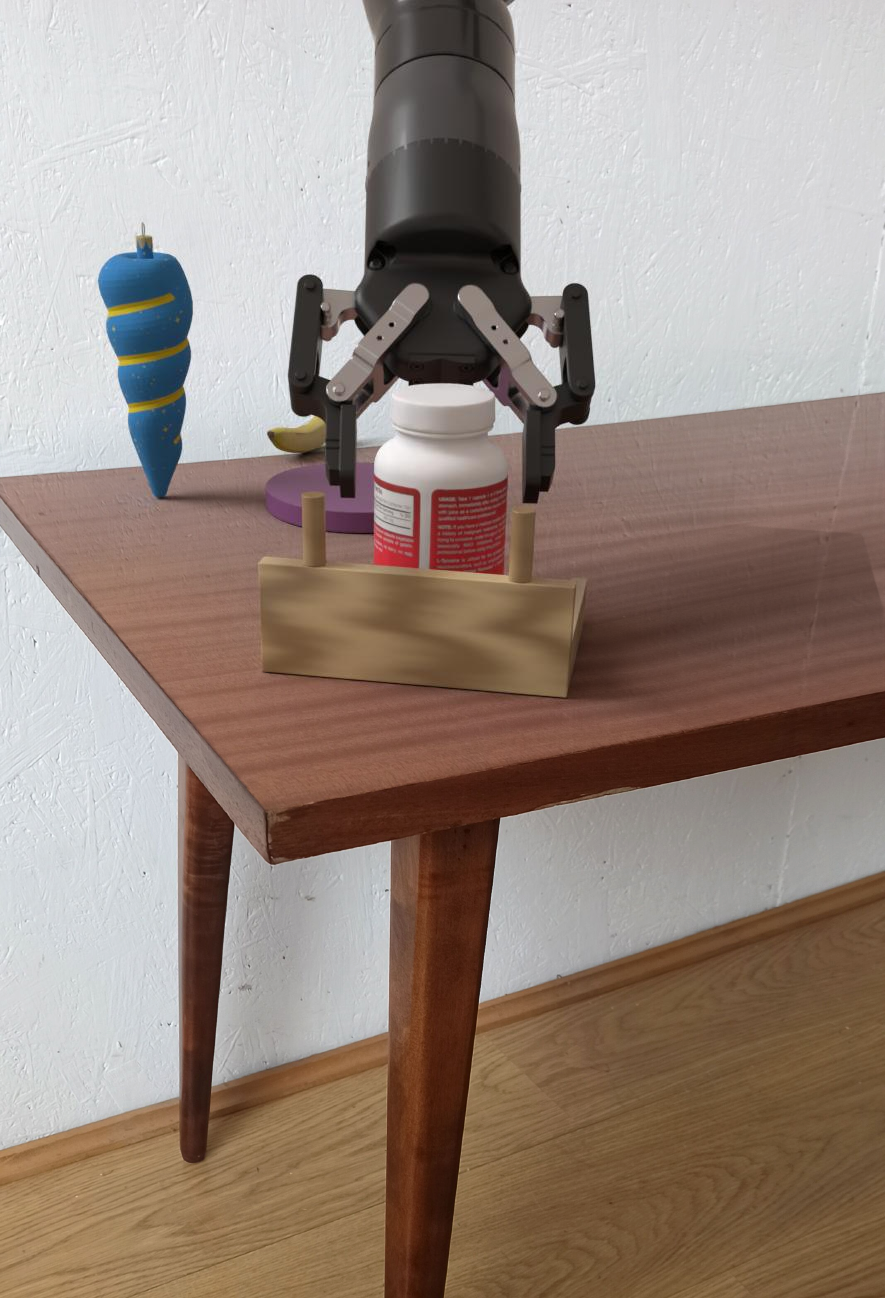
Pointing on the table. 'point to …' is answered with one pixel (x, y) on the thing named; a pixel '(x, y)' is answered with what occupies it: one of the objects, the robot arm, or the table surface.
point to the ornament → (150, 351)
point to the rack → (420, 618)
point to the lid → (338, 511)
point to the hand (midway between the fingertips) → (440, 492)
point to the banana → (299, 437)
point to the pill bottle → (441, 482)
